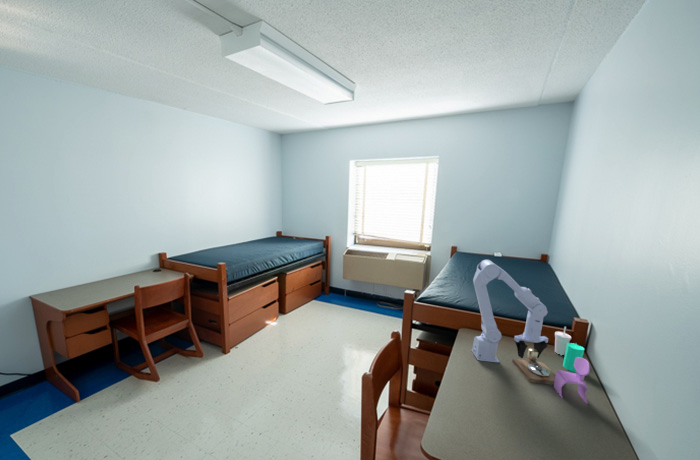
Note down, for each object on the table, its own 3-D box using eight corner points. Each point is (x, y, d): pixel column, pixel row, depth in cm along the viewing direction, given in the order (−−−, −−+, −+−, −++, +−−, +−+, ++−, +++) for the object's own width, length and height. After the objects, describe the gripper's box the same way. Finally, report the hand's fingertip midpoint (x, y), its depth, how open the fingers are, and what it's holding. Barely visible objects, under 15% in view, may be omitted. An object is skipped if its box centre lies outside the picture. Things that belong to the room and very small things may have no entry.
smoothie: (554, 355, 129) (560, 327, 127) (549, 348, 135) (554, 321, 133) (570, 358, 127) (576, 330, 126) (564, 351, 134) (569, 324, 132)
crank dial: (553, 378, 108) (555, 366, 108) (532, 374, 110) (534, 362, 109) (538, 360, 120) (541, 349, 119) (520, 357, 122) (522, 346, 121)
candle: (583, 373, 117) (589, 347, 115) (569, 372, 117) (575, 346, 115) (572, 364, 123) (577, 339, 121) (559, 363, 123) (564, 338, 121)
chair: (551, 384, 107) (558, 349, 105) (576, 390, 105) (584, 354, 103) (561, 399, 99) (569, 362, 97) (589, 406, 97) (598, 368, 95)
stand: (528, 381, 108) (529, 377, 108) (512, 361, 121) (512, 358, 121) (562, 385, 107) (563, 381, 107) (542, 365, 120) (543, 361, 120)
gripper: (541, 323, 122) (536, 351, 124) (511, 322, 120) (506, 351, 122) (554, 331, 115) (548, 361, 117) (522, 330, 113) (517, 360, 115)
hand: (528, 356), depth 119 cm, fingers open, 7 cm apart
